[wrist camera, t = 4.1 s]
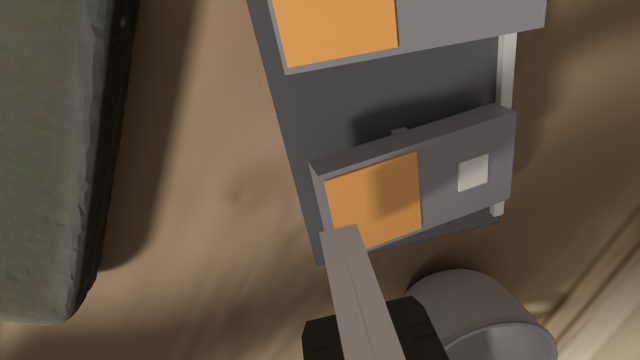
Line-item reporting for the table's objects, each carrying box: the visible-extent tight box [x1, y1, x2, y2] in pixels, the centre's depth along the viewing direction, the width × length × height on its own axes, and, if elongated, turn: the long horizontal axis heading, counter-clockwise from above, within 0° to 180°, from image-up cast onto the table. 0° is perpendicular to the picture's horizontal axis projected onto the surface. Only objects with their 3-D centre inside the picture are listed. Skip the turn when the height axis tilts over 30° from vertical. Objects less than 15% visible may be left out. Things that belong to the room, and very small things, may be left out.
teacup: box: [401, 269, 558, 360], centre depth 29 cm, size 14×11×8 cm
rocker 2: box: [308, 103, 518, 252], centre depth 18 cm, size 5×10×2 cm, turn 101°
